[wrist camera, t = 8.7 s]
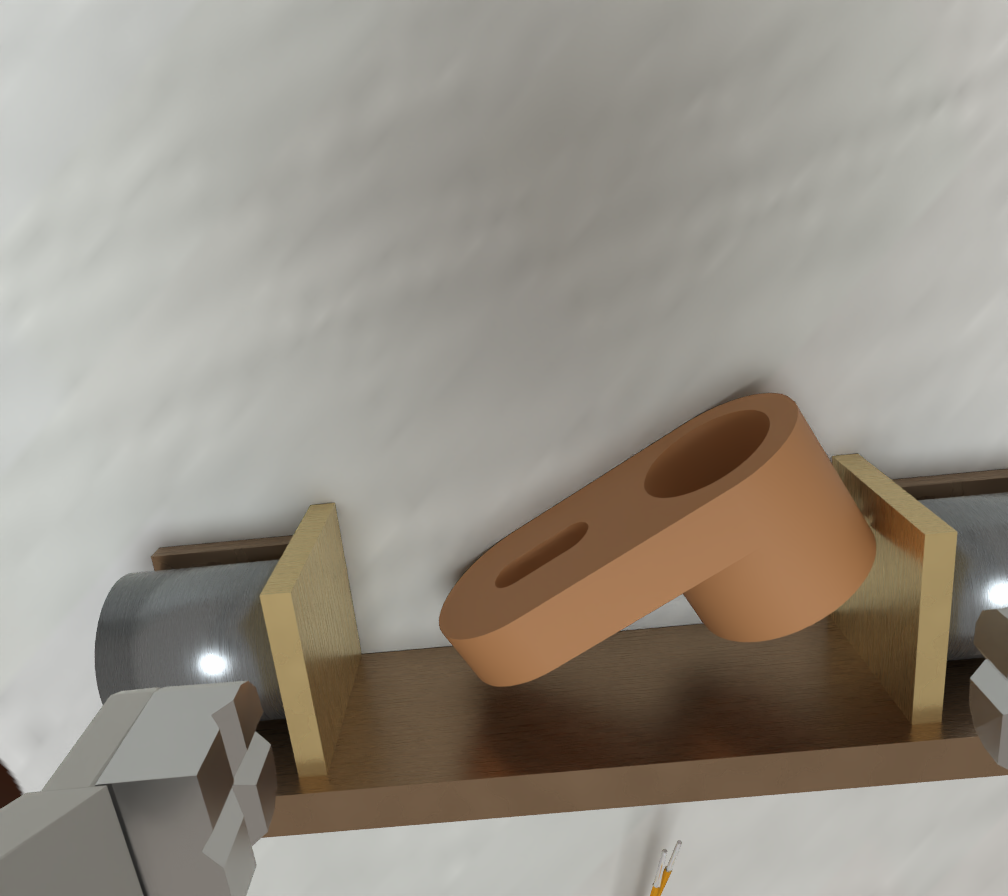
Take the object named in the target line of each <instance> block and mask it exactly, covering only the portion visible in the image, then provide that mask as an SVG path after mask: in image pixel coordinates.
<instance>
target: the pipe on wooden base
mask: <svg viewBox="0 0 1008 896" xmlns="http://www.w3.org/2000/svg"><path fill="white" fill-rule="evenodd" d="M832 465H833V467H834V468H835V470H836V472H837V473H838V475H839V477H840V478H841V480H842V482H843V483H844V485H845V487H846V488H847V490H848V492H849V493H850V495H851V497H852V498H853V500H854V502H855V503H856V505H857V507H858V508H859V510H860V512H861V513H862V515H863V517H864V518H865V520H866V522H867V523H868V525H869V527H870V528H871V530H872V532H873V534H874V536H875V540H876V556H875V560H874V563H873V566H872V568H871V570H870V572H869V574H868V576H867V577H866V579H865V580H864V582H863V583H862V585H861V586H860V587H859V588H858V590H857V591H856V592H855V593H854V594H853V595H852V596H851V597H850V598H849V599H848V600H847V601H846V602H845V603H843V604H842V605H841V606H840V607H839V608H837V609H836V610H835V611H833V612H832V613H831V614H829V615H828V616H826V617H825V618H823V619H821V620H820V621H818V622H816V623H814V624H813V625H811V626H809V627H806V628H804V629H802V630H800V631H797V632H795V633H792V634H790V635H786V636H783V637H780V638H776V639H772V640H766V641H760V642H736V641H731V640H726V639H724V638H721V637H719V636H717V635H715V634H713V633H712V632H711V631H710V630H709V629H708V628H707V627H706V626H705V625H704V624H696V625H685V626H673V627H662V628H651V629H640V630H629V631H618V632H617V633H615V634H613V635H612V636H610V637H608V638H607V639H605V640H603V641H602V642H600V643H598V644H596V645H595V646H593V647H591V648H590V649H588V650H586V651H585V652H583V653H581V654H580V655H578V656H576V657H575V658H573V659H571V660H569V661H568V662H566V663H564V664H563V665H561V666H559V667H558V668H556V669H554V670H552V671H550V672H549V673H547V674H545V675H543V676H541V677H538V678H536V679H534V680H531V681H529V682H525V683H522V684H518V685H514V686H506V687H497V686H492V685H489V684H486V683H485V682H483V681H482V680H481V679H480V678H479V677H478V676H477V675H476V673H475V672H474V671H473V670H472V669H471V667H470V666H469V665H468V664H467V662H466V661H465V660H464V659H463V658H462V656H461V655H460V654H459V653H458V651H457V650H456V649H455V648H454V647H453V646H450V647H438V648H427V649H416V650H405V651H394V652H382V653H371V654H361V648H360V642H359V637H358V631H357V625H356V620H355V614H354V608H353V603H352V597H351V591H350V586H349V580H348V574H347V568H346V563H345V557H344V551H343V546H342V540H341V534H340V529H339V523H338V517H337V512H336V506H335V503H328V504H317V505H310V507H309V509H308V510H307V512H306V514H305V516H304V517H303V519H302V521H301V523H300V525H299V526H298V528H297V530H296V532H295V533H294V535H292V536H281V537H270V538H260V539H249V540H238V541H228V542H217V543H206V544H195V545H185V546H174V547H163V548H159V549H158V550H157V551H156V552H155V553H154V554H153V555H152V556H151V559H152V562H153V566H154V570H155V571H149V572H139V573H130V574H127V575H125V576H123V577H121V578H120V579H119V580H118V581H117V582H116V583H115V585H114V586H113V587H112V589H111V590H110V592H109V594H108V595H107V598H106V600H105V602H104V605H103V608H102V610H101V614H100V618H99V621H98V627H97V632H96V641H95V671H96V680H97V686H98V690H99V694H100V698H101V701H102V704H103V705H104V703H105V702H106V701H107V699H108V698H109V697H110V695H113V694H115V693H118V692H120V691H127V690H136V689H146V688H155V687H159V688H163V687H170V686H184V685H197V684H210V683H223V682H236V681H249V682H250V683H251V684H253V685H254V686H255V687H256V689H257V693H258V696H259V700H260V703H261V707H262V710H263V713H262V716H261V718H260V721H259V723H258V726H257V728H256V730H255V731H256V732H257V733H258V734H259V735H261V736H262V737H263V738H264V739H265V740H266V741H268V742H269V743H270V744H271V746H272V751H273V755H274V759H275V765H276V777H277V790H276V800H275V810H274V814H273V817H272V820H271V823H270V826H269V830H268V832H267V833H266V834H265V835H264V836H263V837H261V838H264V837H276V836H288V835H300V834H312V833H324V832H336V831H347V830H359V829H371V828H383V827H395V826H407V825H419V824H431V823H442V822H454V821H466V820H478V819H490V818H502V817H514V816H526V815H538V814H549V813H561V812H573V811H585V810H597V809H609V808H621V807H633V806H645V805H656V804H668V803H680V802H692V801H704V800H716V799H728V798H740V797H752V796H763V795H775V794H787V793H799V792H811V791H823V790H835V789H847V788H859V787H870V786H882V785H894V784H906V783H918V782H930V781H942V780H954V779H966V778H977V777H989V776H1001V775H1008V769H1006V768H1004V767H1002V766H1000V765H998V764H997V763H996V762H995V761H994V759H993V758H992V757H991V755H990V754H989V753H988V752H987V750H986V749H985V748H984V746H983V744H982V742H981V740H980V738H979V736H978V734H977V733H976V731H975V728H974V724H973V720H972V716H971V712H970V707H969V688H970V677H971V676H972V675H973V674H974V673H975V671H976V670H977V669H978V668H979V667H980V666H981V664H982V663H983V662H984V661H985V660H986V659H985V657H984V656H983V655H982V654H981V652H980V651H979V650H978V649H977V647H976V646H975V645H974V644H973V643H974V634H975V625H976V622H977V620H978V618H979V616H980V614H981V612H982V610H990V609H998V608H1007V607H1008V469H1001V470H990V471H979V472H968V473H958V474H947V475H936V476H925V477H915V478H904V479H893V480H891V479H890V478H888V477H887V476H886V475H884V474H883V473H882V472H881V471H879V470H878V469H877V468H875V467H874V466H873V465H872V464H870V463H869V462H868V461H867V460H865V459H864V458H863V457H861V456H860V455H859V454H849V455H838V456H833V457H832Z"/></svg>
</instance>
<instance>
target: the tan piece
mask: <svg viewBox="0 0 1008 896" xmlns="http://www.w3.org/2000/svg"><path fill="white" fill-rule="evenodd" d="M875 556H876V540H875V536H874V534H873V532H872V530H871V528H870V527H869V525H868V523H867V522H866V520H865V518H864V517H863V515H862V513H861V512H860V510H859V508H858V507H857V505H856V503H855V502H854V500H853V498H852V497H851V495H850V493H849V492H848V490H847V488H846V487H845V485H844V483H843V482H842V480H841V478H840V477H839V475H838V473H837V472H836V470H835V468H834V467H833V465H832V463H831V462H830V460H829V458H828V457H827V455H826V453H825V452H824V450H823V448H822V446H821V445H820V443H819V441H818V440H817V438H816V436H815V435H814V433H813V431H812V430H811V428H810V426H809V425H808V423H807V421H806V420H805V418H804V416H803V415H802V413H801V411H800V410H799V408H798V406H797V405H796V403H795V402H794V401H793V400H792V399H790V398H789V397H788V396H786V395H783V394H778V393H762V394H755V395H750V396H746V397H742V398H738V399H735V400H732V401H729V402H727V403H724V404H722V405H719V406H717V407H715V408H712V409H710V410H708V411H706V412H704V413H702V414H700V415H699V416H697V417H695V418H693V419H691V420H690V421H688V422H686V423H685V424H683V425H682V426H680V427H678V428H677V429H675V430H674V431H672V432H671V433H669V434H667V435H666V436H664V437H663V438H661V439H659V440H658V441H656V442H655V443H653V444H652V445H650V446H648V447H647V448H645V449H644V450H642V451H641V452H639V453H637V454H636V455H634V456H633V457H631V458H629V459H628V460H626V461H625V462H623V463H622V464H620V465H618V466H617V467H615V468H614V469H612V470H611V471H609V472H607V473H606V474H604V475H603V476H601V477H599V478H598V479H596V480H595V481H593V482H592V483H590V484H588V485H587V486H585V487H584V488H582V489H581V490H579V491H577V492H576V493H574V494H573V495H571V496H569V497H568V498H566V499H565V500H563V501H562V502H560V503H558V504H557V505H555V506H554V507H552V508H551V509H549V510H547V511H546V512H544V513H543V514H541V515H539V516H538V517H536V518H535V519H533V520H532V521H530V522H528V523H527V524H525V525H524V526H522V527H521V528H519V529H517V530H516V531H514V532H513V533H511V534H510V535H508V536H507V537H505V538H504V539H502V540H501V541H500V542H498V543H497V544H496V545H494V546H493V547H492V548H491V549H489V550H488V551H487V552H486V553H485V554H483V555H482V556H481V557H480V558H479V559H478V560H477V561H476V562H475V563H474V564H473V565H472V566H471V567H470V568H469V569H468V570H467V571H466V572H465V573H464V575H463V576H462V577H461V578H460V579H459V581H458V582H457V583H456V584H455V586H454V587H453V589H452V590H451V592H450V593H449V595H448V597H447V598H446V600H445V602H444V604H443V607H442V609H441V613H440V617H439V626H440V630H441V631H442V633H443V634H444V636H445V637H446V638H447V639H448V640H449V642H450V643H451V644H452V645H453V647H454V648H455V649H456V650H457V651H458V653H459V654H460V655H461V656H462V658H463V659H464V660H465V661H466V662H467V664H468V665H469V666H470V667H471V669H472V670H473V671H474V672H475V673H476V675H477V676H478V677H479V678H480V679H481V680H482V681H483V682H485V683H486V684H489V685H492V686H497V687H506V686H514V685H518V684H522V683H525V682H529V681H531V680H534V679H536V678H538V677H541V676H543V675H545V674H547V673H549V672H550V671H552V670H554V669H556V668H558V667H559V666H561V665H563V664H564V663H566V662H568V661H569V660H571V659H573V658H575V657H576V656H578V655H580V654H581V653H583V652H585V651H586V650H588V649H590V648H591V647H593V646H595V645H596V644H598V643H600V642H602V641H603V640H605V639H607V638H608V637H610V636H612V635H613V634H615V633H617V632H618V631H620V630H622V629H624V628H625V627H627V626H629V625H630V624H632V623H634V622H635V621H637V620H639V619H640V618H642V617H644V616H645V615H647V614H649V613H651V612H652V611H654V610H656V609H657V608H659V607H661V606H662V605H664V604H666V603H667V602H669V601H671V600H673V599H674V598H676V597H678V596H679V595H681V594H683V595H684V596H685V597H686V599H687V600H688V602H689V603H690V605H691V606H692V607H693V609H694V610H695V612H696V613H697V615H698V616H699V617H700V619H701V620H702V622H703V623H704V625H705V626H706V627H707V628H708V629H709V630H710V631H711V632H712V633H713V634H715V635H717V636H719V637H721V638H724V639H726V640H731V641H736V642H760V641H766V640H772V639H776V638H780V637H783V636H786V635H790V634H792V633H795V632H797V631H800V630H802V629H804V628H806V627H809V626H811V625H813V624H814V623H816V622H818V621H820V620H821V619H823V618H825V617H826V616H828V615H829V614H831V613H832V612H833V611H835V610H836V609H837V608H839V607H840V606H841V605H842V604H843V603H845V602H846V601H847V600H848V599H849V598H850V597H851V596H852V595H853V594H854V593H855V592H856V591H857V590H858V588H859V587H860V586H861V585H862V583H863V582H864V580H865V579H866V577H867V576H868V574H869V572H870V570H871V568H872V566H873V563H874V560H875Z"/></svg>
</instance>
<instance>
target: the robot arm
mask: <svg viewBox="0 0 1008 896" xmlns="http://www.w3.org/2000/svg"><path fill="white" fill-rule="evenodd" d="M973 644H974V645H975V646H976V647H977V649H978V650H979V651H980V652H981V654H982V655H983V656H984V657H985V659H986V660H985V661H984V662H983V663H982V664H981V666H980V667H979V668H978V669H977V670H976V671H975V673H974V674H973V675H972V676H971V677H970V688H969V707H970V712H971V716H972V720H973V724H974V728H975V731H976V733H977V734H978V736H979V738H980V740H981V742H982V744H983V746H984V748H985V749H986V750H987V752H988V753H989V754H990V755H991V757H992V758H993V759H994V761H995V762H996V763H997V764H998V765H1000V766H1002V767H1004V768H1006V769H1008V607H1007V608H998V609H990V610H982V612H981V614H980V616H979V618H978V620H977V622H976V625H975V634H974V643H973ZM262 713H263V710H262V707H261V703H260V700H259V696H258V693H257V689H256V687H255V686H254V685H253V684H251V683H250V682H249V681H236V682H223V683H210V684H197V685H184V686H170V687H163V688H159V687H155V688H146V689H136V690H127V691H120V692H118V693H115V694H113V695H110V697H109V698H108V699H107V701H106V702H105V703H104V705H103V706H102V708H101V709H100V710H99V712H98V713H97V714H96V716H95V717H94V719H93V720H92V721H91V723H90V724H89V726H88V727H87V728H86V730H85V731H84V732H83V734H82V735H81V737H80V738H79V739H78V741H77V742H76V744H75V745H74V746H73V748H72V749H71V750H70V752H69V753H68V755H67V756H66V757H65V759H64V760H63V762H62V763H61V764H60V766H59V767H58V769H57V770H56V771H55V773H54V774H53V775H52V777H51V778H50V780H49V781H48V782H47V784H46V785H45V787H44V788H43V789H42V791H40V792H31V793H25V794H24V795H22V796H21V797H19V798H18V799H16V800H15V801H13V802H11V803H10V804H8V805H7V806H5V807H3V808H2V809H0V896H246V894H247V891H248V889H249V886H250V883H251V880H252V877H253V874H254V871H255V868H256V861H255V857H254V853H253V850H252V846H253V845H254V844H255V843H256V842H257V841H258V840H259V839H260V838H261V837H263V836H264V835H265V834H266V833H267V832H268V830H269V826H270V823H271V820H272V817H273V814H274V810H275V800H276V790H277V777H276V765H275V759H274V755H273V751H272V746H271V744H270V743H269V742H268V741H266V740H265V739H264V738H263V737H262V736H261V735H259V734H258V733H257V732H256V731H255V730H256V728H257V726H258V723H259V721H260V718H261V716H262Z"/></svg>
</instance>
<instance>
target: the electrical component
mask: <svg viewBox="0 0 1008 896" xmlns="http://www.w3.org/2000/svg"><path fill="white" fill-rule="evenodd" d="M681 844H682V842H681V841H680V840H678V841H677V844H676V846H675V848H674V851H673V853H672V856H671V858H670V861H669V863H668V866H666V867H665V869H664V864H665V859H666V854H667V850H666V849H663V850H662V854H661V858H660V862H659V866H658V870H657V874H656V878H655V882H654V883H653V887H652V891H651V894H650V896H661V893H662V891H663V889H664V887H665V885H666V883H667V881H668V878H669V876H670V874H671V872H672V868H673V865H674V863H675V860H676V857H677V855H678V852H679V849H680V846H681ZM663 869H664V871H663Z"/></svg>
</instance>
